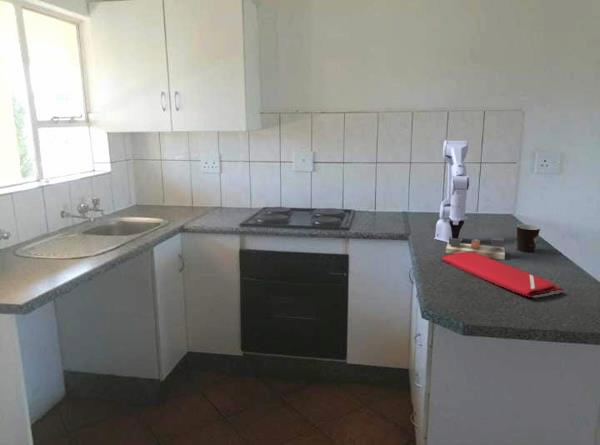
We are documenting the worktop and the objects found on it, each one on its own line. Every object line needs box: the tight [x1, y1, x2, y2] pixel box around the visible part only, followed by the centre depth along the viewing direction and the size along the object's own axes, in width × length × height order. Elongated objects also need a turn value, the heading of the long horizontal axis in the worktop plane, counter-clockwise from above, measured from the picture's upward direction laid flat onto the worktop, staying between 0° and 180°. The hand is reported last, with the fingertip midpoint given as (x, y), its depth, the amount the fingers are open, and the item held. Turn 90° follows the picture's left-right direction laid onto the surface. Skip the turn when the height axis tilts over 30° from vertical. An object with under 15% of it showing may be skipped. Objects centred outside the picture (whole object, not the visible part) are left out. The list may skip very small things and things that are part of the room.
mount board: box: [445, 242, 506, 260], centre depth 190 cm, size 22×10×3 cm, turn 68°
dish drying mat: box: [440, 252, 564, 298], centre depth 164 cm, size 16×41×4 cm, turn 22°
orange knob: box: [470, 238, 481, 249], centre depth 189 cm, size 3×3×3 cm
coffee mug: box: [516, 224, 541, 254], centre depth 193 cm, size 12×9×10 cm
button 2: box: [490, 236, 505, 248], centre depth 186 cm, size 4×4×2 cm
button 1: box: [449, 236, 462, 246], centre depth 192 cm, size 4×4×2 cm
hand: (455, 238), depth 192 cm, fingers closed, pressing on button 1
